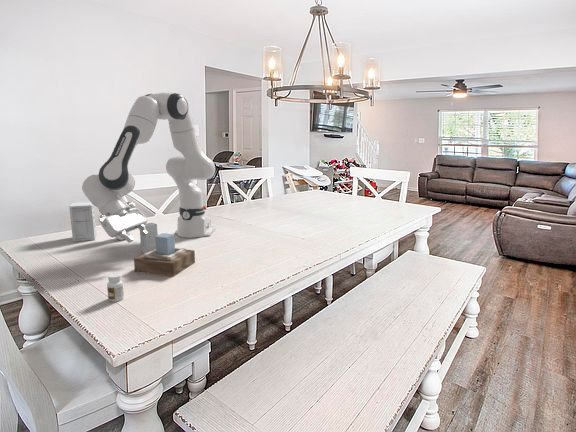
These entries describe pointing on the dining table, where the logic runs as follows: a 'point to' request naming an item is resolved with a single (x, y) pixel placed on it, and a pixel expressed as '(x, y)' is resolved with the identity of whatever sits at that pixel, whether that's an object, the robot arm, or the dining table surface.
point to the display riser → (164, 262)
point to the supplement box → (83, 221)
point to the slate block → (165, 244)
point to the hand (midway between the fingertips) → (139, 238)
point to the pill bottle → (115, 288)
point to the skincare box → (148, 238)
